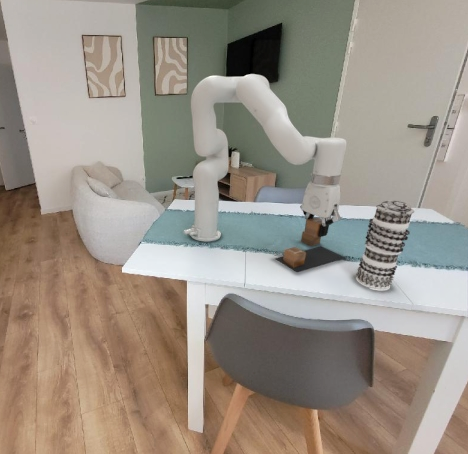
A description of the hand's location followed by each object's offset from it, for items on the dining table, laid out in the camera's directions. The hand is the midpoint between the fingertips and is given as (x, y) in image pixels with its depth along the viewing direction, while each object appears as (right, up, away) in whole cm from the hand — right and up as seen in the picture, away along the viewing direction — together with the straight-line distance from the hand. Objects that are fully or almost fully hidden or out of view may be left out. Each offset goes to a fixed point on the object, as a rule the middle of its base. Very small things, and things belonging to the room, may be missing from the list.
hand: (315, 232), depth 97 cm
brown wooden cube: (-7, -10, +2) cm, 12 cm away
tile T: (+6, -4, +15) cm, 17 cm away
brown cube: (0, 0, 0) cm, 0 cm away
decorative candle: (+11, -15, -10) cm, 21 cm away
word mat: (0, -9, +4) cm, 10 cm away
